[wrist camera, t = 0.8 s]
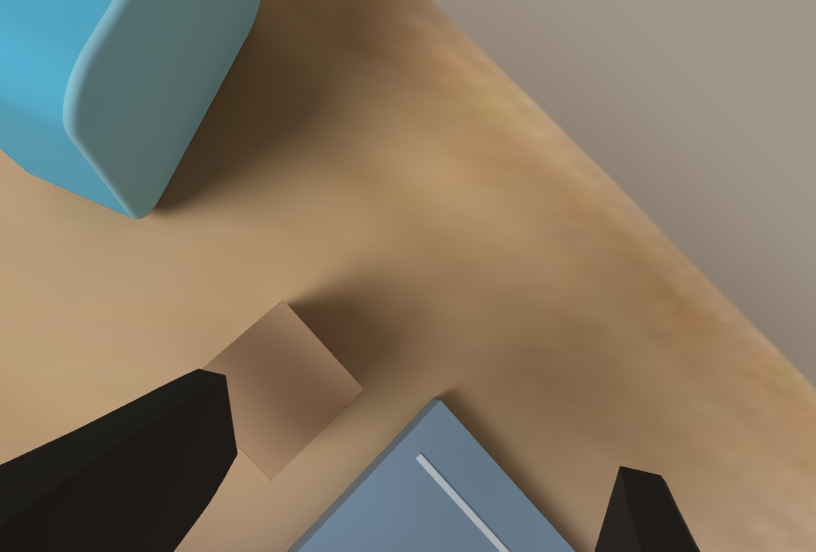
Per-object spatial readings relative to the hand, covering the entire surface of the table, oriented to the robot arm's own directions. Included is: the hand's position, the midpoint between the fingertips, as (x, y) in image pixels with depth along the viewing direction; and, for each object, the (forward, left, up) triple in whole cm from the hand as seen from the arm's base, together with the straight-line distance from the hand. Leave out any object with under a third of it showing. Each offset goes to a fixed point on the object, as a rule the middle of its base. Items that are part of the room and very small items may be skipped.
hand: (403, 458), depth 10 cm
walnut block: (-1, +2, -16) cm, 16 cm away
